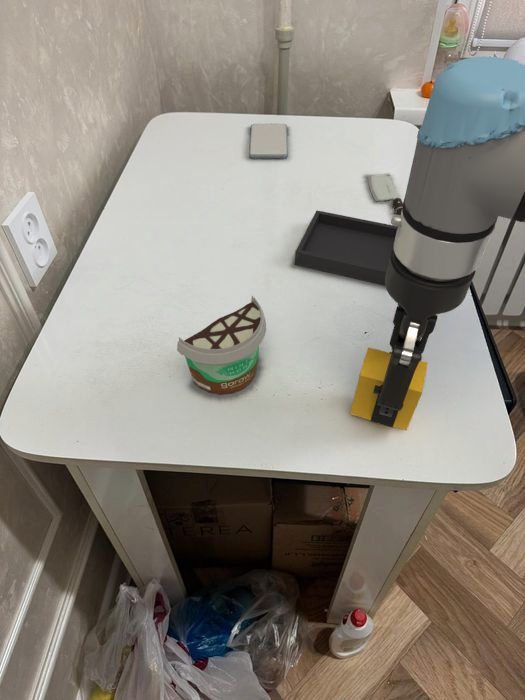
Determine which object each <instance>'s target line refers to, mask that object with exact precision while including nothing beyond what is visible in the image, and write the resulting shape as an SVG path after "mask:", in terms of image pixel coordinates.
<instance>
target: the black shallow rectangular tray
mask: <svg viewBox="0 0 525 700" xmlns="http://www.w3.org/2000/svg"><path fill="white" fill-rule="evenodd" d="M397 229H398V227H397V226H393V225H392V224H388V223H383V222H377V221H373V220H368V219H363V218H357V217H353V216H348V215H343V214H337V213H332V212H327V211H322V210H315V212H314V215H313V217H312V219H311V220H310V222H309V224H308V226H307V228H306V230H305V231H304V234H303V236H302V238H301V240H300V242H299V244H298V246H297V248H296V249H295V252H294V266H297V267H302V268H306V269H309V270H315V271H320V272H324V273H328V274H333V275H337V276H342V277H345V278H350V279H354V280H359V281H363V282H367V283H373V284H375V285H380V286H385V276H386V272H387V267H388V263H389V259H390V255H391V252H392V249H393V248H394V241H395V236H396V232H397Z"/></svg>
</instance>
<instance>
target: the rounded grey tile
mask: <svg viewBox="0 0 525 700" xmlns="http://www.w3.org/2000/svg"><path fill="white" fill-rule="evenodd" d="M249 134H250V135H249V148H248V149H249V151H248V156H249V157H250V158H256V159H257V158H261V159H262V158H264V159H265V158H267V159H271V158H273V159H274V158H280V159H281V158H283V159H284V158H288V156H289V142H288V141H289V140H288V126H287V124H286V123H252V124H251V125H250V133H249Z"/></svg>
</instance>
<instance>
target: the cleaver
mask: <svg viewBox="0 0 525 700" xmlns="http://www.w3.org/2000/svg"><path fill="white" fill-rule="evenodd" d="M367 182H368V187H369V189H370V192H371V195H372V197H373V199H374V201H375V202H384V201H388V200H389V201H391V200H392V203H393V207H394V210H395V213H396V215H401V212H402V209H403V201H402V198H400V197H399V193H398V191H397V189H396V187H395V183H394V181H393V179H392V175H391V173H390V172H387V173H381V174H373V175H369V176H367Z"/></svg>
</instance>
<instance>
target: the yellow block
mask: <svg viewBox="0 0 525 700" xmlns="http://www.w3.org/2000/svg"><path fill="white" fill-rule="evenodd" d="M390 357H391V353H389V351H385V350H381V349H376V348H373V347H369V346H368V347H367V349H366V353H365V355H364V359H363V363H362V366H361V370H360V373H359V377H358V380H357V384H356V388H355V392H354V397H353V401H352V404H351V409H350V415H351V416H355V417H358V418H363V419H365V420H369V421H371V417H372V414H373V410H374V407H375V403H376V400H377V396H378V395H377V394H373V391H374V388H375V385H377V386H381V385H383V382H384V378H385V375H386V371H387V368H388V364H389V361H390ZM428 366H429V365H428V362H426V361H423V360H421V361H420V362H419V364H418V366H417V368H416V370H415V372H414V375H413V378H412V381H411V383H410V386H409V389H408V391H407V394H406V397H405V400H404V402H403V404H404V405H403V408H402V409H401V410H400V411H398V414H397V417H396V420H395V422H394V425H393V428H396V429H400V430H403V431H407V430H408V429H409V425H410V423H411V421H412V418H413V416H414V414H415V411H416V409H417V406H418V405H419V402H420V399H421V397H422V394H423V391H424V385H425V381H426V375H427V371H428V370H427V369H428Z"/></svg>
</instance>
